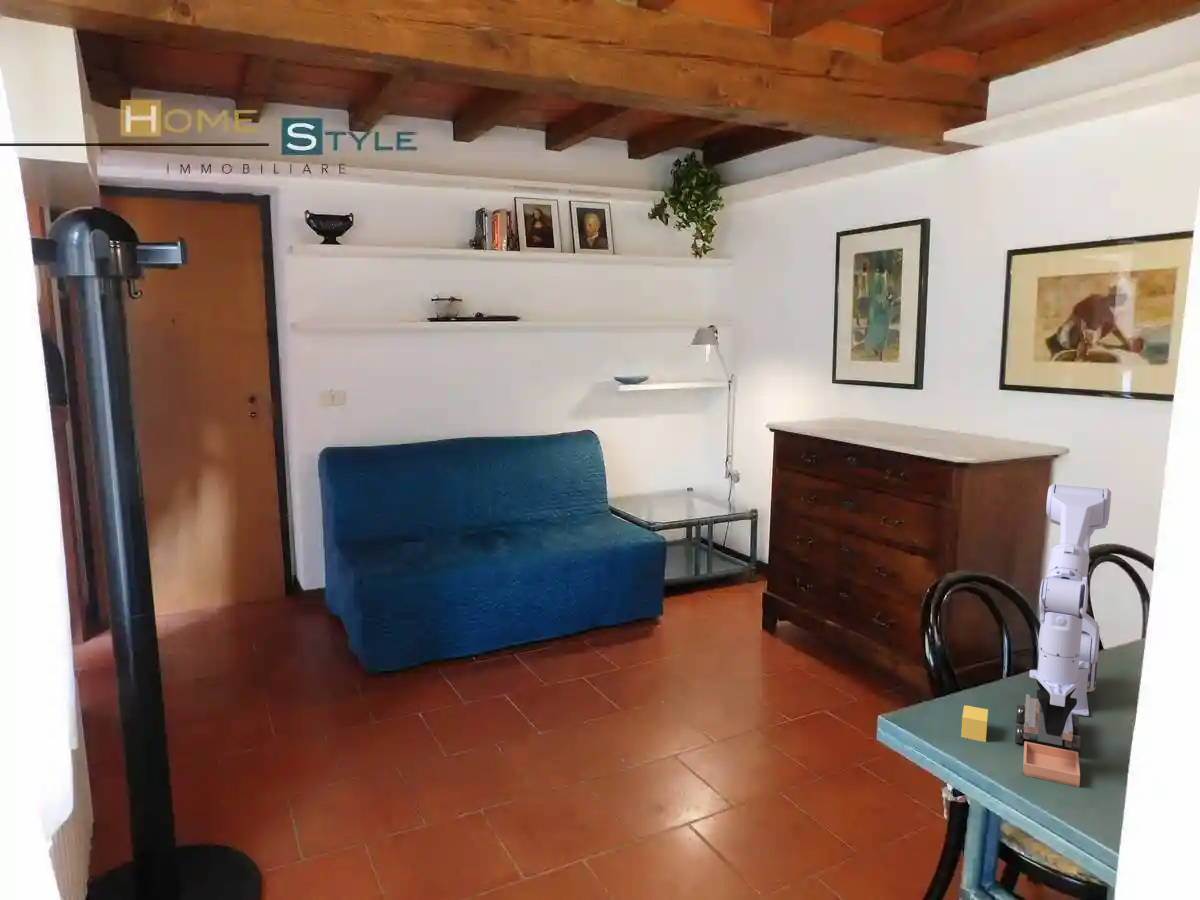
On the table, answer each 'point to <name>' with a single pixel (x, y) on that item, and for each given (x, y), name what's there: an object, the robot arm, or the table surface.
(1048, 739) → the grey matte cube
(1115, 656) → the table surface
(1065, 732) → the trolley
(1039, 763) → the tray
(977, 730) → the chock
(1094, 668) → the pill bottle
